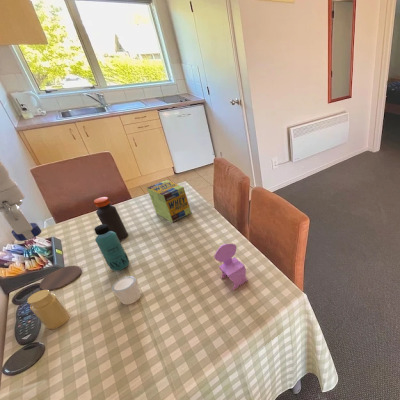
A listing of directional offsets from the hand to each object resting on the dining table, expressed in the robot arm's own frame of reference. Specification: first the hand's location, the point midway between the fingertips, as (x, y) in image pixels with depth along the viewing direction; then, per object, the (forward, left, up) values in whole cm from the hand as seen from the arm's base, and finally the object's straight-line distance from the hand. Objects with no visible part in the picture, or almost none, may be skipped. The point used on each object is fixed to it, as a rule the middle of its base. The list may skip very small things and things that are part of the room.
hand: (27, 233), depth 88 cm
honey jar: (+6, -21, -22) cm, 31 cm away
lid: (0, 0, -1) cm, 1 cm away
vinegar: (+15, +21, -22) cm, 34 cm away
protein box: (+37, +33, -22) cm, 54 cm away
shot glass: (+26, -20, -22) cm, 39 cm away
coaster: (0, +1, -22) cm, 22 cm away
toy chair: (+60, -26, -22) cm, 69 cm away
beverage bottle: (+20, -2, -22) cm, 30 cm away
